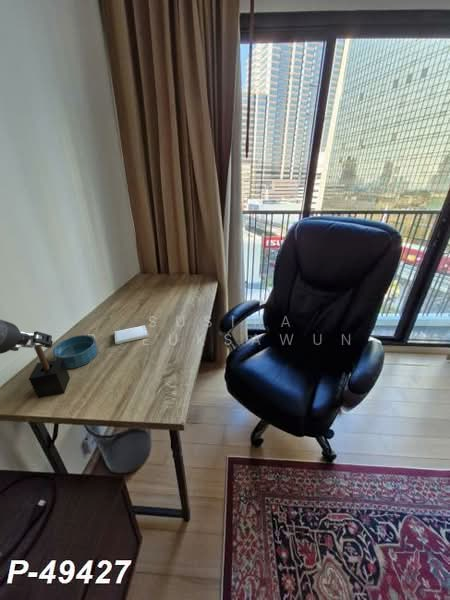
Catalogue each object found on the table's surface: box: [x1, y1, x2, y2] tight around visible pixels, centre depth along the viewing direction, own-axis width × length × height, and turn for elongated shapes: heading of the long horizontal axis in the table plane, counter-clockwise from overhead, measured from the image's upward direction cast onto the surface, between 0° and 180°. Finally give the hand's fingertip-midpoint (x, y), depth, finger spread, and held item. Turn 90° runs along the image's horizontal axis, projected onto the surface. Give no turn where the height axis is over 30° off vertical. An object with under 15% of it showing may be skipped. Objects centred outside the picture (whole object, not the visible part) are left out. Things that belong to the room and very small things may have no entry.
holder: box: [28, 359, 71, 399], centre depth 77 cm, size 7×7×8 cm
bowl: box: [52, 334, 99, 369], centre depth 90 cm, size 13×13×6 cm
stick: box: [33, 346, 50, 371], centre depth 75 cm, size 2×2×18 cm
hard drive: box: [114, 325, 149, 345], centre depth 104 cm, size 2×8×12 cm
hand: (33, 345), depth 70 cm, fingers open, 8 cm apart
